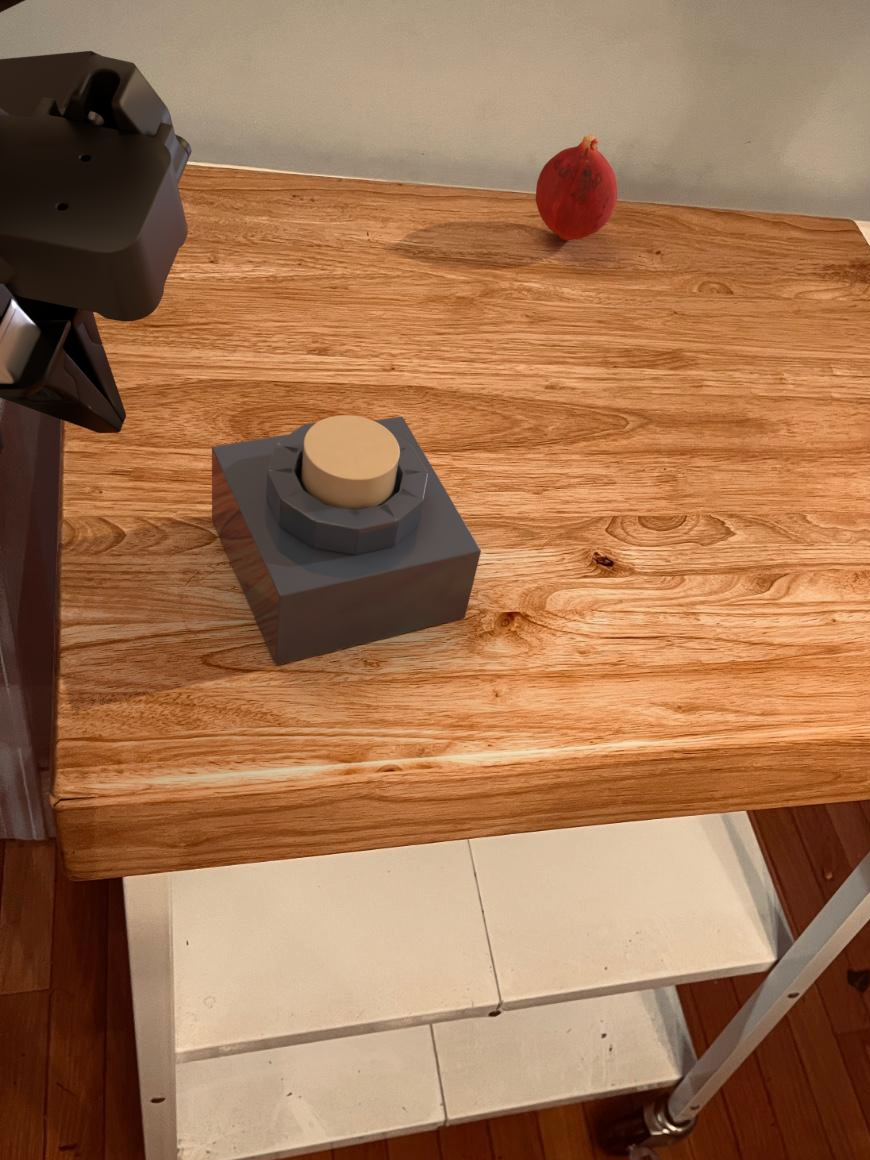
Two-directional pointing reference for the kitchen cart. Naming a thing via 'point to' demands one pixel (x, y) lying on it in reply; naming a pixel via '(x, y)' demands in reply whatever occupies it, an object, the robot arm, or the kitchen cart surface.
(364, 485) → the tan push button
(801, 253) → the kitchen cart surface
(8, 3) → the robot arm
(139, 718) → the kitchen cart surface
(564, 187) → the pomegranate
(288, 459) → the grey button base
